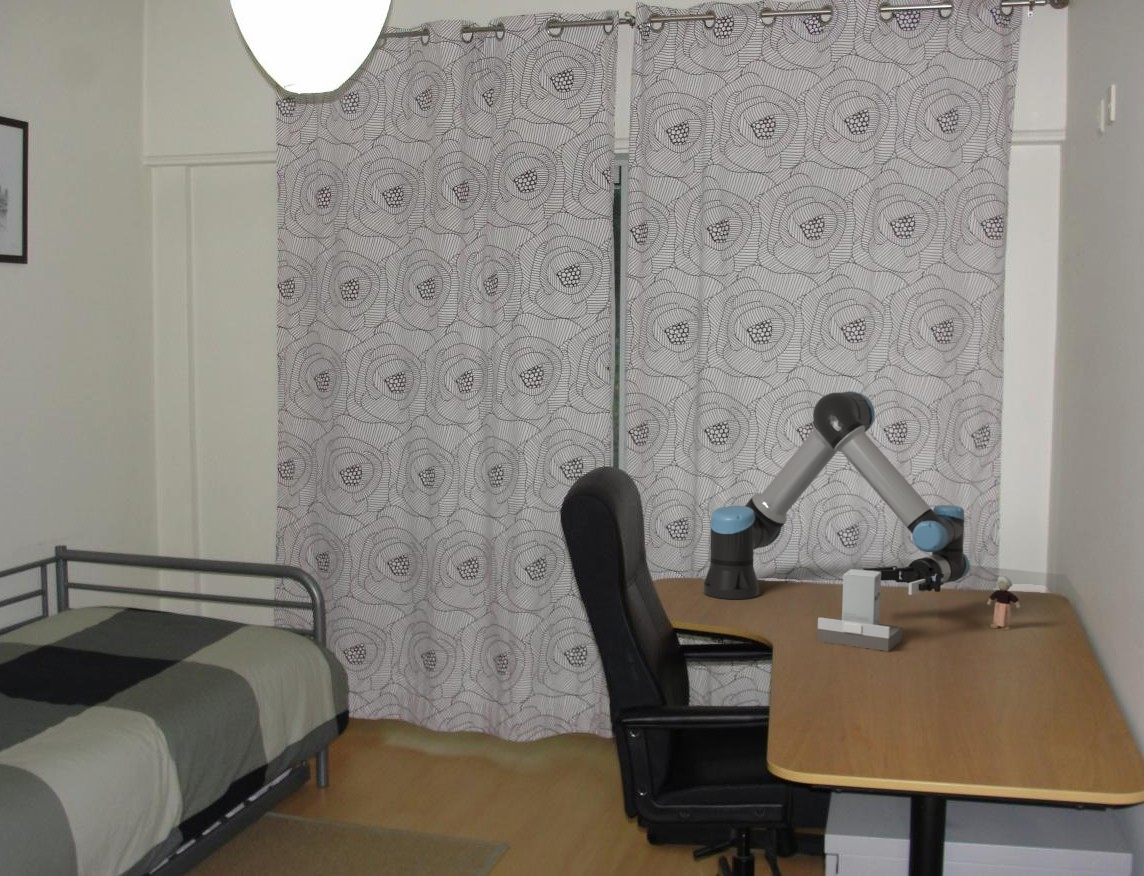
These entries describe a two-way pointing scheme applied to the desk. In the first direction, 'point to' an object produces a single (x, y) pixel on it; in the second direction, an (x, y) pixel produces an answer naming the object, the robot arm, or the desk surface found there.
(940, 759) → the desk surface
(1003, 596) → the grandmother figurine
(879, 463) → the robot arm
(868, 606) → the supplement box
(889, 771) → the desk surface
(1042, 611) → the desk surface
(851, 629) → the shelf board
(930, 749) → the desk surface
